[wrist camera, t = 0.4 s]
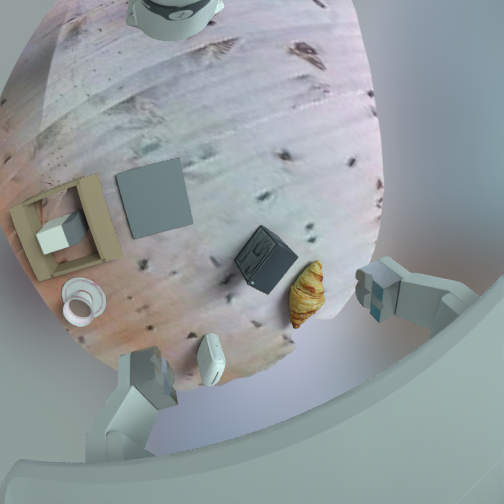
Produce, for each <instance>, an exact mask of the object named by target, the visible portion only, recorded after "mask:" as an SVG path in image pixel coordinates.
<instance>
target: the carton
mask: <svg viewBox="0 0 504 504" xmlns="http://www.w3.org/2000/svg"><path fill="white" fill-rule="evenodd" d="M75 185H76V186H77V190H78V193H79V196H80V200H81V203H82V206H83V209H84V213H85V216H86V219H87V222H88V225H89V227H90V230H91V233H92V236H93V239H94V241H95V244H96V247H97V249H98V252H99V253H95V254H92V255H89V256H85V257H82V258H79V259H75V260H72V261H69V262H66V263H62V264H59V265H58V264H57V262H56V260H55V257H54V255H53V253H52V252H51V253H48V254H45V255H44V253H43V251H42V248H41V246H40V243H39V241H38V238H37V236H36V234H37V233H38V232H39V231H40V230H41V229H42V228H43V227H42V225H41V222H40V219H39V216H38V213H37V210H36V207H35V204H34V202H35V201H38V200H40V199H42V198H45V197H47V196H50V195H52V194H55V193H57V192H60V191H62V190H65V189H67V188H70V187H73V186H75ZM9 211H10V214H11V217H12V220H13V223H14V226H15V228H16V231H17V234H18V236H19V239H20V241H21V244H22V246H23V249H24V251H25V253H26V255H27V258H28V260H29V262H30V264H31V267H32V269H33V271H34V273H35V275H36V277H37V279H38V281H42V280H46V279H49V278H52V277H56V276H59V275H62V274H66V273H69V272H72V271H76V270H79V269H83V268H86V267H90V266H93V265H97V264H100V263H104V262H107V261H111V260H114V259H118V258H122V257H123V253H122V251H121V248H120V245H119V242H118V239H117V236H116V233H115V230H114V227H113V224H112V221H111V218H110V215H109V211H108V208H107V205H106V201H105V198H104V194H103V191H102V187H101V183H100V180H99V176H98V173H97V174H94V175H91V176H88V177H85V176H83V177H80V178H77V179H74V180H72V181H69V182H66V183H64V184H61V185H59V186H56V187H54V188H51V189H49V190H46V191H44V192H42V193H39V194H37V195H35V196H33V197H30V198H29V199H27V200H26V201H24V202H23V203H21V204H19V205H17V206H15V207H13V208H11V209H9Z"/></svg>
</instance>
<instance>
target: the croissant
mask: <svg viewBox="0 0 504 504" xmlns="http://www.w3.org/2000/svg"><path fill="white" fill-rule="evenodd" d="M321 268H322V264H321V261H319V260H316V261H314V262H313V263H312V264H311V265H310V266H309V267H307V268H306V269H305V270H304V271H303V273H302V274H301V275H300V276H299V277H298V278H297V280H296V281H295V283H294V285H292V286H291V290H290V297H289V306H290V309H289V310H290V321H291V323H292V325H293V328H294V329H296V328H299V327H300V324H302V323H304V322H305V321H306V319H308V317H309V316H311V315H312V314H315V312H316V311H317V310H318V309H320V308H321V306H322V305H323V303H324V301H325V297H324V295H323V294H324V287H323V284H322V279H323V274H322V271H321Z"/></svg>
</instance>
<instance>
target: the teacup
mask: <svg viewBox="0 0 504 504" xmlns="http://www.w3.org/2000/svg"><path fill="white" fill-rule="evenodd" d="M79 290H85V291H87V292H89V293H90V294H91V296H92V299H93V301H92V299H91V297H90V296H89V295H88V294H87V293H85V292H83V291H79ZM77 291H78V292H77ZM62 298H63V302H64V306H63V313H64V316H65V318H66V319H67V320H68V321H69V322H70V323H71V324H73V325H76V326H86V325H88V324H90V323H91V322H92V321H93V319H94V317H97V316H99V315H100V314H102V313H103V311H104V309H105V306H106V297H105V294H104V292H103V290H102V289H101V288H100V287H99V286H98V285H97V284H96V283H95V282H93V281H92V280H90V279H87V278H83V277H75V278H72V279H70V280H68V281H67V282H66V283H65V284H64V287H63V289H62Z"/></svg>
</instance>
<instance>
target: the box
mask: <svg viewBox="0 0 504 504" xmlns="http://www.w3.org/2000/svg"><path fill="white" fill-rule="evenodd" d="M87 230H88V227H87V224H86V221H85V219H84V215H83V212H82V210H79V211H76V212H73V213H71V214H68V215H65V216H62V217H60V218H57V219H54V220H52V221H49V222H47V223H46V225H45V226H44V227H43V228H42V229H41V230H40V231H39V232H38V233H37V234H36V236H37V238H38V241H39V243H40V246H41V248H42V251H43V253H44V255H45V254H48V253H51V252H54V251H57V250H60V249H63V248H66V247H69V246H72V245H75V244H78V243H80V242H81V240H82V238H83V237H84V235H85V234H86V232H87Z"/></svg>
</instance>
